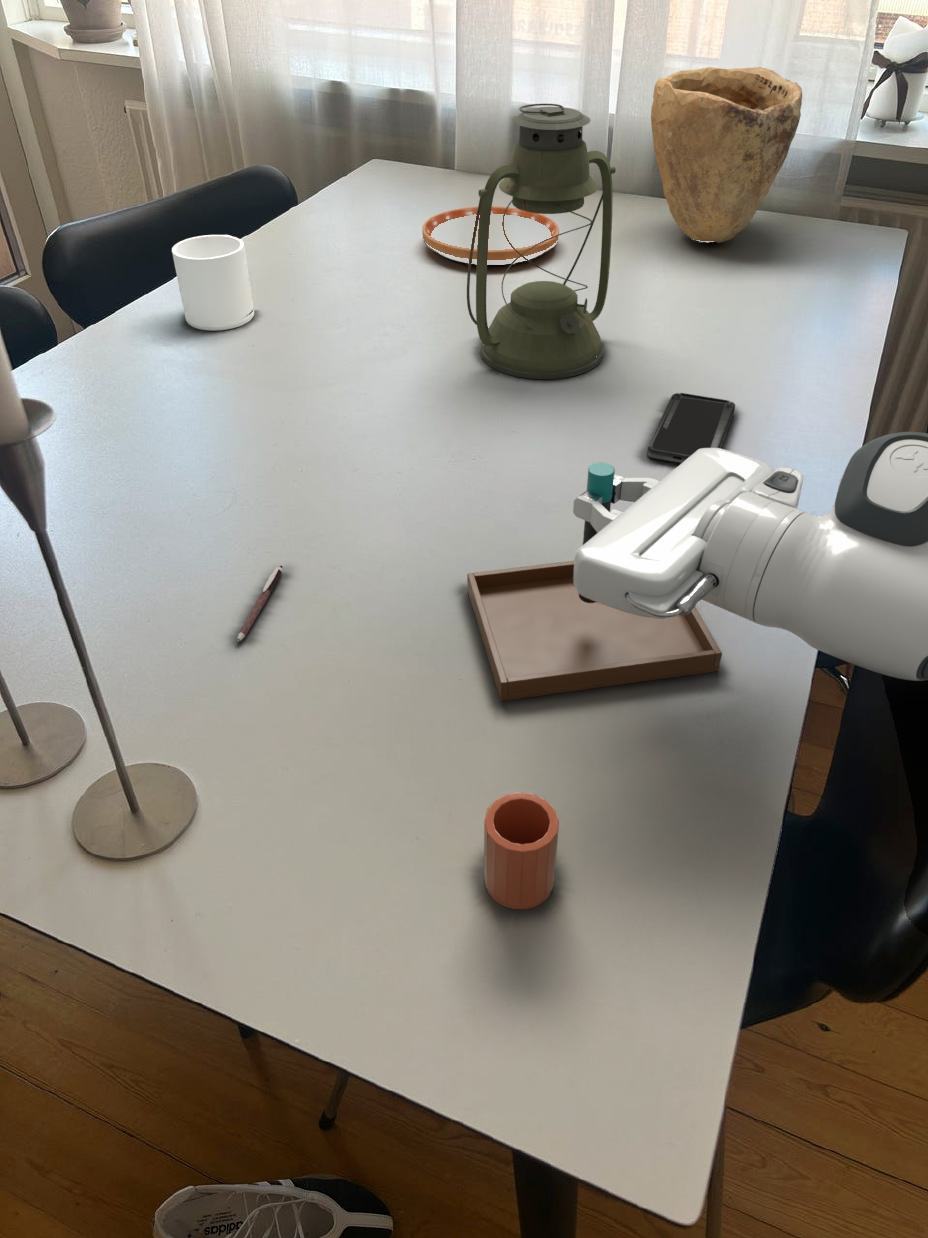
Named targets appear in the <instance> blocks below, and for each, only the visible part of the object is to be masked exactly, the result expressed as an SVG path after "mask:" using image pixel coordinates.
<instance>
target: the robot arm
mask: <svg viewBox="0 0 928 1238" xmlns="http://www.w3.org/2000/svg"><path fill="white" fill-rule="evenodd" d="M839 479H840V480H839V484H838V488H837V492H836V497H835V501H834V503H833V505H832V507H831V508H830V510H829V511H828V512H827V513H825V514H823V515H814V514H812V513H809V512H808V511H807V512H806V511H804V510H801V509H799V508H798V507H799V502H800V498H801V493H802V489H803V488H802V487H803V481H804V475H803V473H802V472H800V471H798V470H796V469H793V468H789V467H785V466H781V467H777V468H776V469H775V470H774V468H773V467H772V466H770V464H768V463H766V462H763V461H762V460H760V459H756V458H753V457H751V456H747V455H744V454H742V453H738V452H735V451H731V450H729V449H724V448H722V447H721V448H701V449H698V450H697V451H696V452H695V453H693V454H692V455H691V456H690V457H689V458H687V459H686V460H685V461H684V462H683V463H681V464H680V463H679V465H678V466H676V467H675V468H674V469H673V470H671V472H669V473H668V474H667V475H666V476H664V477H663V478H662V479H661V480H657V479H655V478H653V477H623V476H621V475H619V474H615V473H614V483H613V493H612V499H611V504H613V505H614V504H616V503H617V502H619V501H624V502H630V503H632V504H630V505H629V506H628V507H627V508H626V509H625V510H623V511H620V510H618V509H616V508H612V509H610V512H609V511H608V510H607V509H606V508H605V507H603V506H602V497H603V496H600V495H597V494H592V493H591V492H590V491H587V490H586V491H584V492H583V493H581V494H579V495H578V496H577V497H576V498H575V499H574V500H573V508H572V513H573V515H574V516H575V517H576V518H577V519H581V520H583V521H584V522H585V521H588V522H590V523H591V525H592V526H593V528H594V529H595V530H596V531H597V534H596V535H595V536H593V537H592V538H591V539H590V540H589V541H587V542H586V543H585V544H584V545H583V544H582V545H581V546H580V547H579V548H578V549H577V550H576V552H575V554H574V560H573V561H574V573H573V583H574V585H575V587H576V589H577V591H578V593H579V594H580V595H582V596H584V597H585V598H588V599H590V600H593V601H595V602H598V603H601V604H603V605H606V606H609V607H612V608H615V609H618V610H621V611H624V612H627V613H631V614H634V615H638V616H643V617H650V618H656V619H665V618H667V617H674V616H677V615H680V616H685V615H687V614H688V613H690V612H691V611H692V610H693V609H694V607H696V606H697V604H698V603H699V602H700V601H701V600H702V601H704V602H706V603H709V604H710V605H712V606H715V607H718V608H720V609H722V610H725V611H727V612H728V613H731V614H734V615H736V616H738V617H740V618H743V619H746V620H748V621H750V622H752V623H755V624H758V625H759V626H762V627H767V628H775V629H779V630H784V631H787V632H789V633H791V634H793V635H795V636H797V637H798V638H800V639H801V640H802V641H803V642H805V644H807V645H808V646H809V647H811V648H813V649H815V650H817V651H820V652H822V653H824V654H826V655H829V656H832V657H835V658H836V659H838V660H841V661H844V662H846V663H849V664H852V665H854V666H857V667H860V668H862V669H865V670H868V671H871V672H874V673H877V674H879V675H884V676H887V677H891V678H894V679H899V680H906V681H915V682H919V681H921V682H923V681H928V433H927V432H920V431H899V432H894V433H889V434H885V435H882V436H879V437H876V438H874V439H872V440H871V441H869V442H867V443H865V444H863V445H862V446H861V447H859V448H858V449H857V450H856V451H854V453H853V454H852V456H851V457H850V459H849V461H848V463H847V465H846V467H845V469H844V470H843V473H842V475H841V477H840V478H839ZM674 609H675V610H674ZM673 610H674V611H673Z"/></svg>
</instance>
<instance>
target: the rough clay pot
mask: <svg viewBox="0 0 928 1238" xmlns="http://www.w3.org/2000/svg"><path fill="white" fill-rule="evenodd" d="M652 98H653V100H652V104H651V109H650V110H651V111H650V122H651V132H652V142H653V151H654V154H655V160H656V164H657V168H658V172H659V175H660V177H661V184H662V190H663V191H662V192H663V195H664V197H665V200H666V202H667V205H668V209H669V213H670V214H671V217H672V218H673V220H674V222H675V223H676V225H677V226H678V227H679V228H680V229H681V230H682V232H683V233H684V235H686V236H687V237H688V236H689V237H690V238H691V239H690V238H689V237H688V238H689V239H690V240H692V239H694V240H700V241H714V242H717V244H722V243H724V242H726V241H725V240H727V241H730V240H732V239H734V237H735V236H736V235H737V234H739V233H741V232H742V231H743V230H744V229H745V228H746V227H747V225H748V224H750V223H751V221H752V219H753V217H754V215H755V214H756V213H757V211H758V209H759V208H760V206H761V204H762V203H763V201H764V199H765V198H766V197H767V195H768V194H769V191H770V188H771V187H772V185H773V183H774V181H775V179H776V177H777V175H778V174H779V172H780V171H781V169H782V167H783V165H784V163H785V161H786V158H787V157H788V153H789V151H790V147H791V144H792V142H793V140H794V138H795V136H796V132H797V131H798V127H799V124H800V120H801V116H802V115H801V112H802V111H801V109H802V104H803V102H802V101H803V88H802V87H801V85H799V83H798V82H794V81H792V80H790V79H787V78H784V77H783V76H781V75H780V74H778V73H776V72H775V71H774V70H772V69H770V68H769V69H768V68H765V67H761V66H754V67H743V68H742V67H741V68H720V67H713V66H706V67H702V68H695V69H687V70H679V71H675V72H673V73H671V74H670V75H668V76H666V77H661V78H658V79H657V81H656V82H655V84H654V88H653V96H652ZM694 240H693V241H694ZM698 243H699V244H701V243H702V244H704V243H703V242H698Z"/></svg>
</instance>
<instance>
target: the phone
mask: <svg viewBox="0 0 928 1238" xmlns="http://www.w3.org/2000/svg"><path fill="white" fill-rule="evenodd" d="M735 409H736V404H735V402H734V401H732V400H728V399H722V398H715V397H710V396H703V395H698V394H697V395H696V394H691V393H684V392H676V393H673V394H672V395H671V396H670V398H669V400H668V403H667V405H666V406H665V409H664V410H663V413H662V415H661V416H660V419H659V421H658V423H657V425H656V427H655V429H654V432H653V433H652V436H651V437H650V439H649V441H648V442H647V443H648V444H647V450H646V455H647V456H648V457H649V458H650V459H653V460H657V461H659V460H660V461H663V462H669V463H673V464H674V463H675V464H679V465H680V464H681V463H683V462H684V461H685V460H686V459H687V458H689V457H690V456H691V455H692V454H693V453H695V452H696V451H697V450H698V449H701V448H721V449H722V447H723V444H724V442H725V438H726V436H727V433H728V431H729V428H730V425H731V423H732V420H733V417H734V414H735Z"/></svg>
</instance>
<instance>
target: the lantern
mask: <svg viewBox="0 0 928 1238" xmlns="http://www.w3.org/2000/svg"><path fill="white" fill-rule="evenodd" d="M540 106H541V107H540ZM530 107H533V108H530ZM525 108H529V109H525ZM518 109H519V110H518V111H520V112H521V113H520V114H518V115H516V116H514V117H513V118H512V122H513V123H514V124H515V125H517V126H519V137H518V139H517V140H515V143H514V146H513V150H512V154H511V158H510V163H509V164H507V165H502V166H499V167H498V168H496V169H495V170H494V171H493V172H492V173H491V174H490V176H489V178H488V179H487V180H486V184H485V186H484V188H481V189H478V192H477V193H478V197H479V201H478V205H477V207H478V211H477V216H476V221H475V227H474V232H473V238H472V244H471V251H470V258H469V264H468V267H467V277H466V305H467V310H468V315H469V317H470V319H471V321H472V322H473V323H474V324H475V325H476V328H477V333H478V337H479V339H480V341H481V342H480V348H479V349H480V350H479V353H480V356H481V359H482V360H483V362H485V363H486V365H488V366H489V367H491V368H493V369H494V370H496V371H498V372H500V373H503V374H506V375H509V376H514V377H517V378H524V379H530V380H531V379H533V380H556V379H557V380H558V379H565V378H569V377H575V376H578V375H581V374H584V373H587V372H589V371H591V370H593V369H594V368H596V367H597V366H598V365H599V364H600V363H601V362H602V360H603V358H604V355H605V354H604V353H605V347H604V343H603V341H602V339H601V338H602V337H601V336H600V333H599V331H598V329H597V327H596V326H595V323H594V321H595V320H597V319H598V317H600V315H601V313H602V311H603V309H604V306H605V304H606V300H607V299H606V298H607V293H608V286H609V280H610V279H609V277H610V267H611V252H612V251H611V250H612V232H613V196H614V195H613V177H612V175H613V174H615V173H616V166H614V165H612V166H611V164H610V162H609V159H608V157H607V156H606V155H605V154H604V153H603V152H602V151H599V150H589V151H588V148H587V147H588V146H587V143H586V141H585V140H583V129H584V128H583V127H585V126H586V125H589V124H590V123H591V118H590V117H589V116H587V115H585V114H584V113H582V112H581V111H580V110H577V109H574V108H570V107H565V106H563V105H561V104H557V103H532V104H526V105H522V106H520V107H519V108H518ZM524 109H525V110H524ZM590 164H595V165H597V167H598V169H599V172H600V178H601V187H602V188H601V189H602V193H601V196H600V199H599V201H598V204H597V207H596V209H595V213H594V215H593V217H592V219H591V218H589V217H586V216H584V215H582V214H580V213H576V212H575V211H577V210H580V209H581V208H583V207H584V204H585V198H587V197H589V196H592V195H593V194H595V193H596V192H597V191H598V190H599V188H600V186H599V183H598V182H597V181H596V180H595V179H594V178H593V177H592V176H591V174H590ZM497 187H498V188H499V190H500V191H501V192H503V194H505V195H508V196H511V197H512V199H511V200H510V202H509V203H508V205H507V206H506V207H507V208H506V210H505V212H504V215H503V222H502V226H503V231H504V235H505V237H506V239H507V241H508V242H509V240H508V238H507V236H506V234H505V230H504V216H505V213H506V211H507V209H508V207H510V205H511V204H512V207H514V208H518V209H520V210H523V211H526V212H531V213H539V214H542V215H558V214H566V213H567V214H568V213H571V214H573V215H576V216H579V217H581V218H583V219H586V220H587V221H589V222H590V223H588V224H585V225H582V226H579V227H577V228H574V229H571V230H568V231H563V232H561V233H559V235H556V236H554V237H557V236H559V237H560V236H562V235H564V234H568V233H571V232H574V231H577V230H581V229H583V228H586V227H589V228H588V230H587V233H586V234H585V235H586V236H585V238H584V241H583V242H582V245H581V247H580V249H579V252H578V254H577V257H576V259H575V261H574V263H573V264H572V267H571V269H570V271H569V272H568V274H567V276H566V278H565V277H562V276H560V275H558V274H555V273H553V272H551V271H548V270H546V269H544V268H542V267H540V266H539V265H538V264H535V263H534V262H532V261H531V260H530V261H529V260H528V259H526V258H525V257H524V256H522V255H523V254H524V253H526V252H527V251H529V250H530V249H532V248H534V247H535V246H537V245H539V244H541V243H543V242H545V241H547V240H550V239H552V238H554V237H551V238H549V239H546V240H544V241H542V242H540V243H538V244H536V245H535V246H533V247H531V248H530V249H528V250H526V251H525V252H524V253H522V254H520V253H519V252H518V251H517V250H516V249H515V248H514V247H513V246H512V244H511V243H510V242H509V244H510V245H511V247H512V248H513V249H514V250H515V251H516V252H517V253H518V254H519V255H520V256H521V257H523V258H524V259H525V260H527V262H528V263H530V264H531V265H533V266H534V267H536V268H537V269H540V270H541V271H543V272H546V273H548V274H550V275H552V276H554V277H557V278H560V279H562V280H564V281H563V283H561V282H557V281H551V280H550V281H549V280H537V281H536V280H535V281H530V282H526V283H523V284H522V285H520V286H518V287H516V288H515V289H514V290H513V291H511V293H510V302H507V301H506V298H505V295H504V281H505V277H506V275H507V274H508V271H509V270H510V268H512V265H514V264H513V263H514V262H515V261H516V260H517V259H518V258H519V257H520V256H519V257H517V258H516V259H515V260H514V261H513V262H512V263H511V265H508V267H507V268H506V271H505V272H504V274H503V276H502V281H501V294H502V298H503V301H504V303H505V305H503V306H502V307H501V308H499V309H498V310H497V312H496V315H494V317H493V320H491V321H492V322H491V323H490V325H489V326H488V318H487V317H488V316H487V315H488V314H487V282H488V280H487V279H488V278H487V277H488V266H487V257H488V239H489V225H490V215H491V207H492V206H493V200H494V197H495V192H496V190H497ZM601 205H602V220H601V221H602V224H601V225H602V226H601V248H600V249H601V250H600V267H599V278H598V279H599V281H598V289H597V296H596V301H595V304H594V307H593V310H592V311H591V312H589V311H588V309H587V308H588V298H587V297H586V298H585V300H584V304H583V303H582V304H581V303H579V302H578V301H579V297H578V294H577V292H578V291H582V290H586V289H588V288H589V287H588V285H587V284H583V283H580V282H576V281H573V280H571V279H570V277H571V275H572V274H573V272H574V270H575V267H576V266H577V263H578V261H579V260H580V257H581V255H582V252H583V250H584V248H585V246H586V242H587V240H588V239H589V236H590V234H591V231H592V230H593V229H592V228H593V226H594V224H595V221H596V219H597V216H598V213H599V211H600V207H601ZM479 215H480V218H479ZM478 220H479V229H478V245H477V265H476V268H475V269H476V270H475V271H476V273H475V274H476V275H475V276H476V277H475V317H476V318H475V317H474V313H473V311H472V306H471V300H470V299H471V298H470V286H471V285H470V284H471V272H472V265H471V263H472V256H473V249H474V243H475V237H476V231H477V226H478ZM568 282H569V283H570V282H571V283H574V284H577V285H580V286H582V287H583V286H584V287H583V288H578V289H572V288H571V287H569V286H567V285H566V284H567V283H568ZM488 327H489V328H488ZM483 344H484V345H483ZM596 356H597V357H596Z"/></svg>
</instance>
